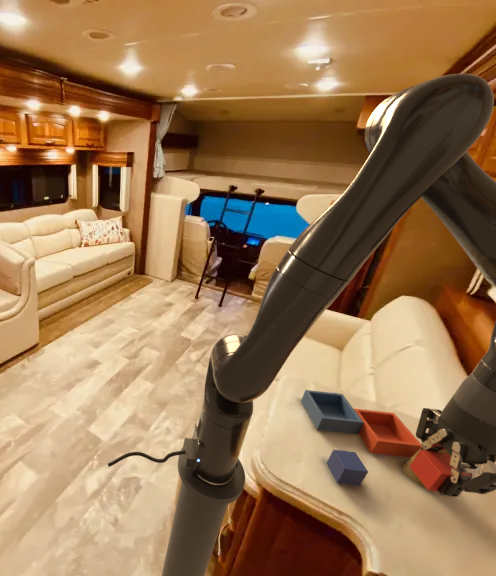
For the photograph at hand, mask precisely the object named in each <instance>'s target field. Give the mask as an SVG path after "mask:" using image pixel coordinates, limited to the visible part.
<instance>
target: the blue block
mask: <svg viewBox="0 0 496 576" xmlns="http://www.w3.org/2000/svg"><path fill="white" fill-rule="evenodd" d="M326 465H327V467H328V469H329V471H330V472H331V475H332V476H333V478H334V480H335V482H336V483H337V484H341V485H342V484H343V485H351V486H356V487H357V486H358V487H360V486H361V485H362V483H363V482H364V480H365V479H366V476H367V475H368V473H369V471H368V469H367V468H366V466H365V465H364V463H363V462H362V460H361V458H360V456H358V454H357V452H356V451H351V450H342V449H333V450H332V451H331V453H330V455H329V458H328V460H327V461H326Z"/></svg>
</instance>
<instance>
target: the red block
mask: <svg viewBox="0 0 496 576" xmlns="http://www.w3.org/2000/svg"><path fill="white" fill-rule="evenodd" d="M450 460H451V456H450V455H449V454H448V453H441V452H433V451H425V450H421V451H420V452H419V454H418V455H417V456H416V458H415V459H414V461H413V462H412V463H411V465H410V468H411V469H412V470H413V471H414V473H415V474H416V475H417V477H418V478H419V479H420V481H421V482H422V483H423V484H424V486H425V487H426V488H425V489H426V490H427V491H428V492H437V493H439V492H438V490H437V489H438V488H439V487H440V486H441V484H442V483H443V482H444V481H445V479H446V478H447V477H450V473H451V469H452V467H451V466H450V465H449V463H450ZM463 474H464V472H463V473H462V476H463Z"/></svg>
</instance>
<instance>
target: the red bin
mask: <svg viewBox="0 0 496 576" xmlns="http://www.w3.org/2000/svg"><path fill="white" fill-rule="evenodd" d="M353 409H354V410H355V412H356V413H357V414H358V416H359V417H360V418H361V420H362V421H363V422H364V423H363V425H362V427H361V429H360V431H359V432H358V434H357V436H358V437H359V439H360V440H361V442H362V443H363V444H364V446H365V447H366V449H367V450H368V452H369V453H370V454H374V455H375V454H376V455H384V456H389V457H399V458H407V459H410V458H411V457H413V456H414V455H415V454H416V453H417V452H418V451H419V450H420V449H421V448H422V445H421V444H422V442H420V441H419V439H418V438H417V437H416V435H414V434H413V433H412V432H411V430H409V428H408V427H407V426H406V424H404V422H403V421H402V420H401V419H400V418H399V417H398V415H396V413H394V412H389V411H380V410H371V409H361V408H353Z"/></svg>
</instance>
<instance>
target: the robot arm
mask: <svg viewBox="0 0 496 576" xmlns="http://www.w3.org/2000/svg"><path fill="white" fill-rule="evenodd" d="M494 105H495V95H494V92H493V89H492V87H491V85H490V84H489V82H487V81H486V79H485V78H483V77H481V76H479V75H477V74H473V73H452V74H451V73H450V74H447V75H446V74H445V75H442V76H441V75H440V76H437V77H435V78H431V79H428V80H425V81H422V82H419V83H416V84H415V85H411V86H408V87H406V88H404V89H402V90H400V91H397V92H396V93H393V94H391V95H390V96H388V97H387V98H386V99H384V100H383V101H382V102H380V103H379V104H378V105H377V106H376V107H375V109H374V110H373V112H371V114H370V116H369V118H368V119H367V122H366V125H365V129H364V142H365V146H366V148H367V150H368V152H369V153H370V154H369V156H368V157H367V159H366V160H365V162H364V163H363V165H362V166H361V168H360V169H359V171H358V172H357V174H356V175H355V177H354V179H353V180H352V181H351V182H350V184H349V185H348V187H347V188H346V189H345V190H344V192H343V193H342V194H341V195H340V196H339V197H338V198H336V200H335V201H334V202H333V203H332V204H331V205H330V206H329V207H327V208H326V209H325V210H324V211H322V212H321V214H320V215H319V216H318V217H316V218H315V219H314V220H313V221H312V222H311V223H310V224H309V225H308V226H307V227H305V228H304V229H303V231H302V232H300V234H299V235H298V236H297V237H296V239H294V241H293V242H292V243H291V245H290V246H289V248H288V249H287V250H286V252H285V254H284V255H283V256H282V258H281V260H279V262H278V264H277V265H276V267H275V268H274V270H273V271H272V273H271V275H270V277H269V280H268V282H267V284H266V287H265V290H264V293H263V295H262V297H261V301H260V304H259V308H258V310H257V314H256V316H255V320H254V322H253V324H252V326H251V328H250V330H249V332H248V333H247V334H246V335H244V334H239V333H233V334H228V335H225V336H223V337H221V338H220V339H218V340H217V342H216V343H214V345H213V347H212V349H211V353H210V355H209V359H208V365H207V370H206V376H205V379H204V381H205V382H204V388H203V389H204V390H203V391H204V393H203V401H202V406H201V410H200V414H199V418H198V423H194V428H193V432H192V437H191V438H190V437H184V439H183V445H182V448H183V449H184V450H182V451H181V450H177V451H172V452H170V453H167V454H166V455H165V456H164V457H163V458H156V457H153V456H152V455H149V454H147V453H145V452H141V451H131V452H126V453H124V454H122V455H121V456H119V457H117V458H116V459H114V460H112V461H110V462H107V467H108V468H110V467H112V466H114V465H116V464H117V463H119V462H121V461H123V460H124V459H127V458H129V457H135V456H138V457H143V458H145V459H147V460H149V461H151V462H154V463H157V464H164V463H166V462H167V461H168V460H169V459H171V458H172V457H176V456H179V455H182V454H184V458H185V467H191V473H192V476H193V477H197V478H198V479H199V480H201V481H202V482H204V483H205V484H207V485H210V486H214V487H222V486H225V485H227V484H229V483H230V482H231V480H232V478H233V475H234V471H235V467H236V469H237V466H238V463H237V460H238V459H239V457H240V454H241V451H242V448H243V445H244V443H245V439H246V436H247V432H248V429H249V426H250V423H251V420H252V416H253V413H254V400H257V399H258V398H259V397H261V396H262V395H264V394H265V392H266V391H267V390H269V388H270V387H271V385H272V384H273V382H274V380H275V379H276V377H278V374H279V372H280V371H281V369H282V368H283V366H284V365H285V364H286V361H287V360H288V359H289V357H290V356H291V354H292V353H293V351H294V350H295V348H296V347H297V346H298V345H299V343H300V342H301V341H302V340H303V339H304V338H305V336H306V335H307V334H308V332H309V331H310V330H311V329H312V328H313V326H314V325H315V324H316V322H317V321H318V320H319V319H320V318H321V317H322V315H323V314H324V312H326V310H328V308H329V307H330V306H331V305H332V304H333V303H334V301H335V300H336V299H337V298H338V297H339V296H340V294H341V293H342V292H343V291H344V290H345V289H346V288H347V286H348V285H349V284H350V283H351V281H352V280H353V279H354V278H355V277H356V275H357V274H358V272H359V271H360V270H361V269H362V267H363V266H364V264H366V262H367V261H368V260H369V258H370V257H371V256H372V255H373V254H374V252H375V251H376V250H377V249H378V248H379V246H380V245H381V244H382V243H383V242H384V240H386V238H387V237H388V236H389V234H390V233H391V231H392V230H393V229H395V226H396V225H397V224H398V223H399V222H400V220H401V219H402V218H403V217H404V216H405V214H406V213H407V212H409V210H410V209H411V208H412V207H413V206H414V205H415V204H416V203H417V202H418V201H419V200H420V199H422V201H423V202H424V203H425V204H426V205H427V206H428V207H429V208H430V210H431V211H432V212H433V213H434V214H435V215H436V217H437V218H438V219H439V220H440V221H441V223H442V224H443V225H444V226H445V227H446V229H447V230H448V231H449V233H450V234H451V235H452V237H453V238H454V239H455V240H456V242H457V244H458V245H459V246H460V247H461V248H462V250H463V251H464V252H465V254H466V255H467V257H468V258H469V260H471V262H472V263H473V264H474V266H475V267H476V268H477V270H478V271H479V272H480V274H481V275H482V276H483V278H485V280H486V281H487V282H488V283H489V284H490V285H491V286H492V287H493V288H495V289H496V180H495V179H494V178H493V177H492V176H490V175H489V174H488V173H486V171H484V169H483V168H482V167H481V166H480V165H479V164H478V163H477V162H476V161H475V159H474V158H473V157H472V156H471V155H470V153H469V152H468V150H470V148H471V147H472V146H473V145H474V144H475V143H476V142H477V140H479V139H480V137H481V135H482V134H483V133H484V130H485V129H486V128H487V126H488V124H489V122H490V120H491V117H492V115H493V111H494ZM427 429H428V430H427ZM415 438H416V439H417V440H420V441H421V445H422V448H421V450H425V451H433V452H441V451H443V450H445V449H446V450H447V451H448V452H449V454H450V455H451V460H450V463H449V465H450V466H451V467H452V469H451V473H450V477H447V478H446V479H445V481H444V482H443V483H442V484H441V486H440V487H439V488H438V489H437V490H438V492H437V493H439V494H440V495H441V496H445V497H450V498H458V497H459V496H460V495H461V493H462V492H465V493H472V494H473V493H474V494H479V495H486V494H489V493H491V492H494V491H496V320H495V321H494V325H493V328H492V332H491V336H490V341H489V346H488V349H487V351H486V352H485V354H484V355H483V356H482V357H481V359H480V360H479V362H478V363H477V365H476V366H475V368H474V369H473V370H472V372H471V373H470V374H469V375H468V376H467V377H466V378H465V379H464V380H463V381H462V382H461V383H460V385H459V386H458V387H457V389H456V391H454V394H452V396H451V398H450V399H449V401H448V402H447V403H446V405H445V406H444V408H443V409H442V410H441V409H437V408H430V407H429V408H427V407H423V408H422V410H421V413H420V417H419V420H418V424H417V428H416V431H415ZM421 450H420V451H421ZM420 451H419V452H420ZM418 454H419V453H418ZM418 454H417V455H418ZM417 455H416V456H417ZM482 467H483V468H482ZM463 472H464V474H463V476H462V473H463ZM478 474H479V475H478ZM477 475H478V476H477Z"/></svg>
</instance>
